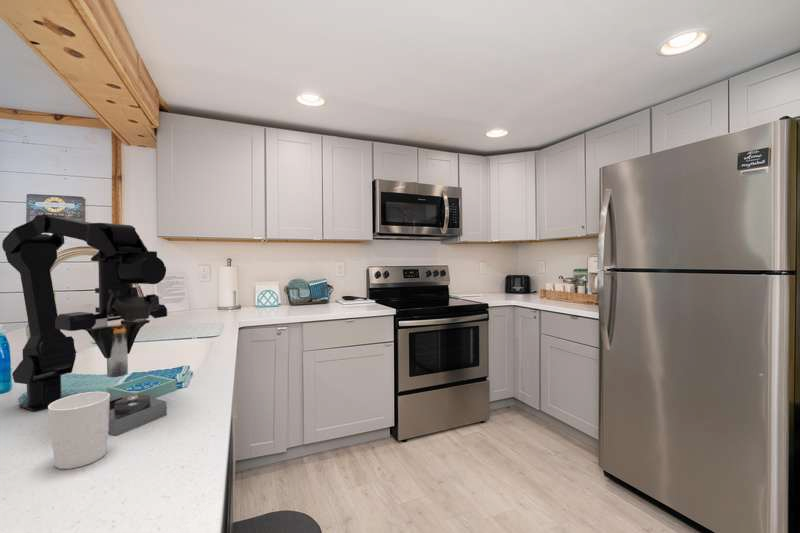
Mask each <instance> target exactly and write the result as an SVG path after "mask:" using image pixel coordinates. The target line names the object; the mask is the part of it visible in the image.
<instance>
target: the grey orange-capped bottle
mask: <svg viewBox="0 0 800 533" xmlns="http://www.w3.org/2000/svg"><path fill="white" fill-rule="evenodd" d="M109 326H110V327H112V329H111V331H110V334H109V337H110V358H108V359H107V358H106V376H107V378H118V377H123V376H127V375H128V373H129V362H128V361H129V359H128V358H129V357H128V356H129V354H128V349H127V325H126V324H121V323H118V324H111V325H109Z"/></svg>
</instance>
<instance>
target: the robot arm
mask: <svg viewBox="0 0 800 533" xmlns="http://www.w3.org/2000/svg"><path fill="white" fill-rule="evenodd" d="M47 233H50V234H51V235H50V234H47ZM65 237H68V238H72V239H75V240H81V241H84V242H86V244H87V246H89V247H91V248H93V249H95V250H97V253H96V254H94V255H93V256H92V257H91V258H90V260H91V262H98V263H97V264H98V265H97V266H98V287H94V293H96V294H98V304H99V305H98V307H97V306H96V307H95V313H93V312H85V311H76V312H67V313H59V314H58V309H57V302H56V298H55V297H56V296H55V292H54V286H53V280H52V273H51V270H52V267H53V266H54V264H55V263H56V261H57V259H58V250H59V249H60V248H61V247H62V246H63V245H64V244H65ZM1 245H2V250H3V252H4V254H5V257H6V260H7V261H6V262H8V264H9V265H11V266H12V267H13V269H15V270H16V271H17V272H18V273H19V274H20V281H21V286H22V292H23V293H22V294H23V299H24V306H25V310H26V318H27V323H28V328H29V335H30V336H29V338H28V340H27V342H26V343H25V345H24V347H23V348H22V360H21V361H20V362H19V363H18V365H17V366H16V368H15V369H14V371H13V372H12V374H11V376H12V379H13V382H14V383H15V384H21V385H22V384H23V385H26V402H23V403H20V404H19V406H18V407H20V408H22V409H25V410H29V411H32V412H36V411H39V410H43V409H48V406H49V404H51V403H52V402H54V401H56V400H59V399H61V398H64V397H65V396H62V394H63V393H62V376H63V375H67V374H71V373H73V369H74V366H75V361H76V358H77V350H76V347H75V338H73V336H72V335H69V336H67V334H64V333H63V331H67V332H73V331H75V332H77V331H81V330H82V331H86V332H87V333H88V334H89V336H90V337H91V338H92V340H93V342H95V344H96V346H97V347H98V349H99V351H100V352H101V354H102V356H103V357H104V359H106V360H107V359H108V358H110V337H109V334H110V331H111V329H112V327H110V325H109V324H108V322H111V321H118V320H120V324H126V325H127V349H128V355H129V354H130V353H131V350H132V348H133V346H134V342H135V341H136V338H137V335H138V334H139V331H140V330H141V328H143V327H144V326H145V325H147V324H149V323H150V322H151V320H150V319H149V318H150V316H151V317H152V318H153V319H160V318H165V317H168V308H167V306H166V305H165V304H162V303H160V297H159V295H157V294H155V293H154V294H153V293H152V294H145V296H139V294H138V287H137V286H136V287H134V285H135V284H137V285H157V284H159V283H161V282H162V281H163V280H164V278H165V277H166V272H167V267H166V265H165V263H164V262H163V259H161V258H160V257H158V251H156V250H155V251H152V250H150V251H149V250H148V248H147V246H145V243H144V242H143V240H142V239H141V237H140V235H139V234H138V232H137V230H136V228H135V227H134V225H131V224H121V223H110V222H109V223H107V222H89V221H85V220H84V221H83V220H80V219H79V220H78V219H74V218H70V217H66V216H64V215H60V214H58V215H56V214H46V213H42V214H37V215H36V216H34V218H33V219H32V220H30V221H28V222H25V223H24V224H21V225H19V226H17V227H14V228H13V229H12V230H11V231H10V232H9V233H8V234H7V235H6V236H5V237H4V238H3V240H2V244H1ZM61 330H63V331H61Z"/></svg>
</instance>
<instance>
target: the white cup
mask: <svg viewBox="0 0 800 533" xmlns="http://www.w3.org/2000/svg"><path fill="white" fill-rule="evenodd" d="M63 397H64V398H61V399H59V400H56V401H54V402H52V403H51V404H49V406H48V407H47V410H48V421H49V422H48V424H49V436H50V442H51V449H52V453H53V463H54V464H53V465H54V468H57V469H59V470H71V469H76V468H80V467H83V466H86V465H89V464H92V463H94V462H96V461H98V460H100V459H102V458H103V457H104V455H106V454H107V452H108V438H109V437H108V436H109V434H108V430H109V410H110V394H109V393H107V391H89V392H82V393H77V394H75V393H74V394H71V395H69V396H68V395H67V396H63Z"/></svg>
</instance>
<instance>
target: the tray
mask: <svg viewBox="0 0 800 533" xmlns="http://www.w3.org/2000/svg"><path fill="white" fill-rule="evenodd" d="M148 380H153V381H157V382H162V383H163V384H160V385H157V386H154V387H151V388H148V389H145V390H141V391H127V390H124V389H126V388H128V387H130V386H132V385H134V384H137V383H141V382H144V381H148ZM177 382H178V380H177V379H175V378H170V377H163V376H160V375H159V376H158V375H154V374H153V375H152V374H147V375H145V376H142V377H138V378H135V379H132V380H128V381H125V382H121V383H118V384H115V385H112V386H108V387H106V389H107V390H106V392H107V393H109V394H110V399H113V398H116V397H119V396H122V395H125V394H129V393H133V394H137V395H148V396H150V397H151V398H155V399H156V398H157V397H160V396H163V395H165V394H168V393H171V392H174V391H176V390H178V386H177V385H178V383H177Z"/></svg>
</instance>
